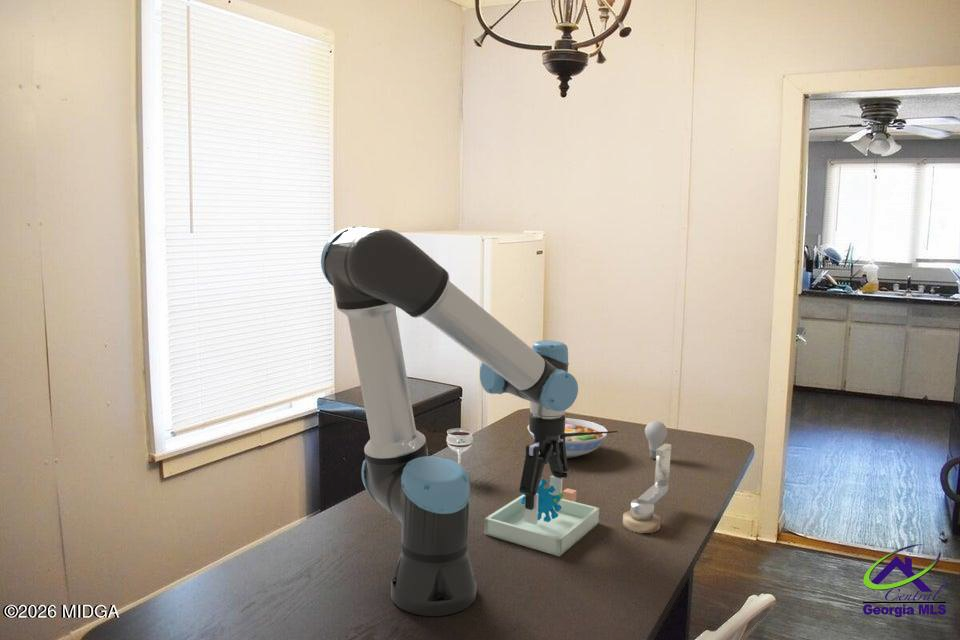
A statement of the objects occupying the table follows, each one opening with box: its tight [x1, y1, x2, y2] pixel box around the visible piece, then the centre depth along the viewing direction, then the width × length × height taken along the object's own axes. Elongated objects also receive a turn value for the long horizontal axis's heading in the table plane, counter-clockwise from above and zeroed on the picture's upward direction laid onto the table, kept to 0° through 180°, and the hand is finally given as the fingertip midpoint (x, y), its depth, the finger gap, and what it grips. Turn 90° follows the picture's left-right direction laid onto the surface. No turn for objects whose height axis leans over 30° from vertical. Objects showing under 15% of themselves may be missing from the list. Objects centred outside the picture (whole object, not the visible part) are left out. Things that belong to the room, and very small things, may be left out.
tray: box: [483, 494, 600, 557], centre depth 159 cm, size 20×18×4 cm
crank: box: [629, 442, 672, 521], centre depth 166 cm, size 18×5×12 cm, turn 148°
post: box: [562, 487, 577, 502], centre depth 171 cm, size 2×2×4 cm
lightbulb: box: [644, 420, 668, 460], centre depth 206 cm, size 6×6×11 cm
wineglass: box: [446, 427, 474, 465], centre depth 187 cm, size 7×7×12 cm
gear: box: [519, 478, 563, 522], centre depth 159 cm, size 11×6×10 cm
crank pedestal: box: [622, 510, 661, 534], centre depth 161 cm, size 8×8×2 cm
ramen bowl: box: [527, 417, 618, 459], centre depth 209 cm, size 25×23×8 cm
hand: (543, 513), depth 158 cm, fingers closed on gear, 11 cm apart
